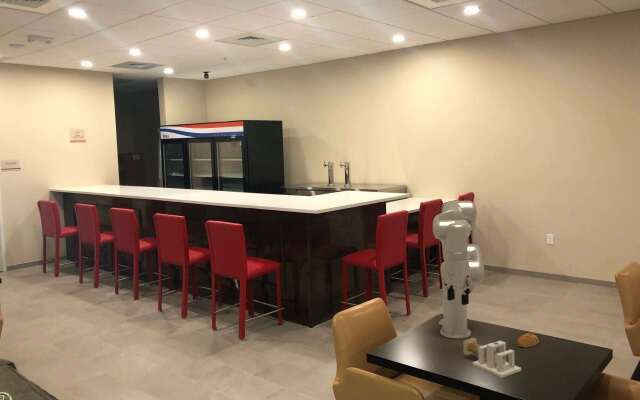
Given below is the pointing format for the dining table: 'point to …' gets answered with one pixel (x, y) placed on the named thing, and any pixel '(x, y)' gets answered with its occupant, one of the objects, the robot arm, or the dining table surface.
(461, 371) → the dining table surface
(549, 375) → the dining table surface
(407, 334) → the dining table surface
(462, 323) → the robot arm
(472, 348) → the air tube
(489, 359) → the white slotted holder
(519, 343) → the pastry
